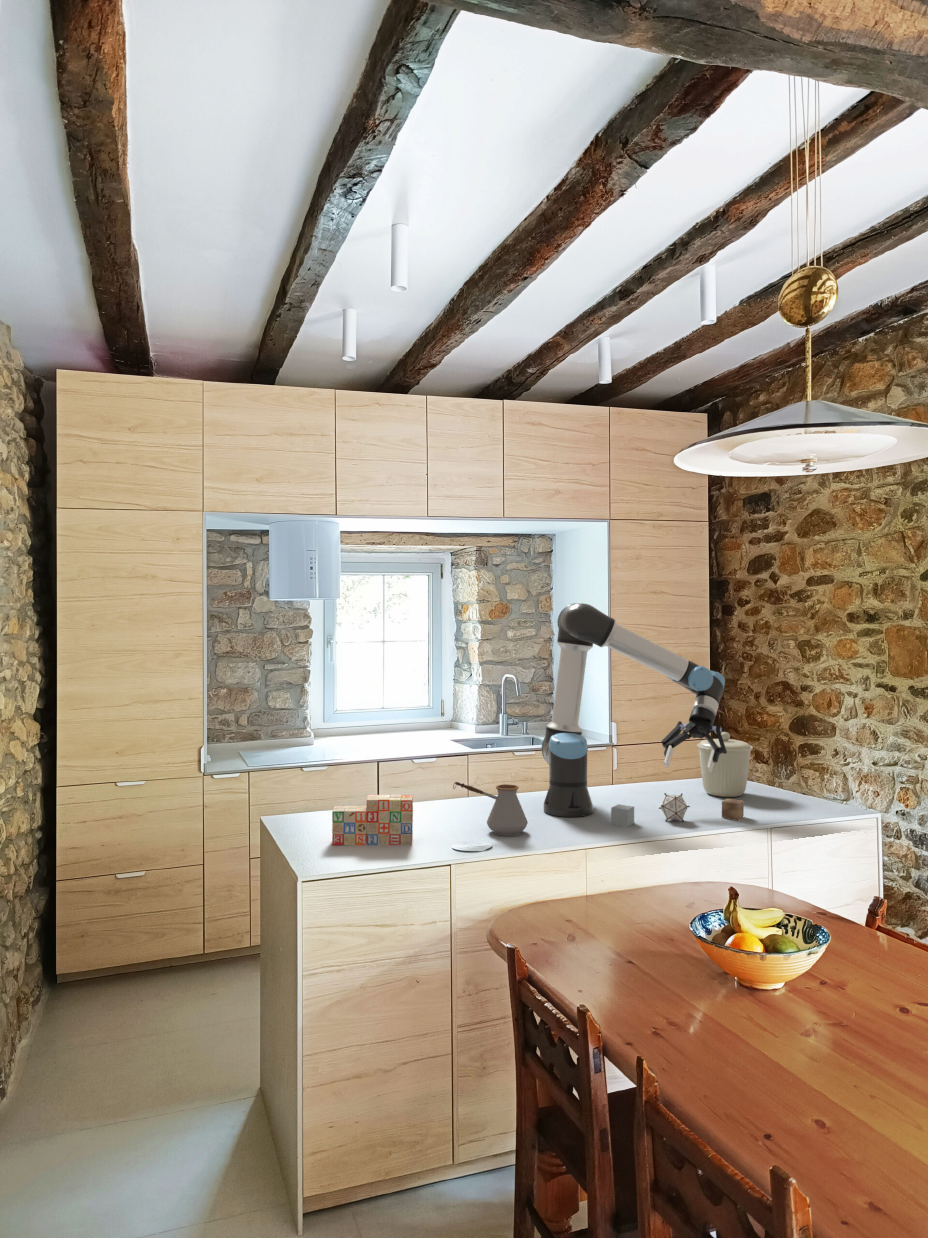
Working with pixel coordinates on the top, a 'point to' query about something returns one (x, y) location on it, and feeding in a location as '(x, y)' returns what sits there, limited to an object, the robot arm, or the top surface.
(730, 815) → the walnut block
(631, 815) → the light grey cube
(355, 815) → the stack of blocks
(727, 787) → the canister
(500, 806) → the coffee pot
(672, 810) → the game die
